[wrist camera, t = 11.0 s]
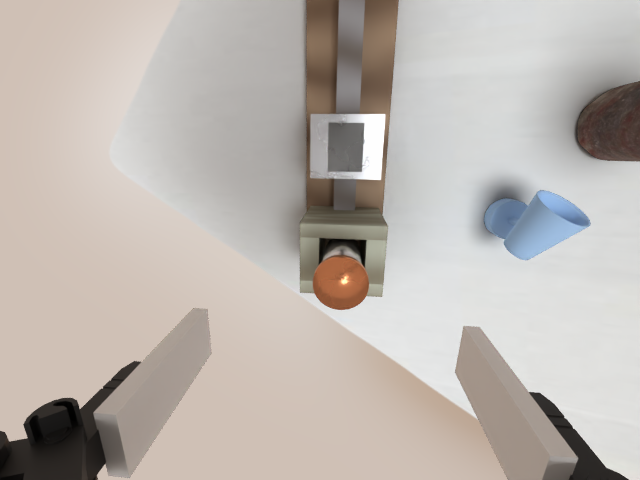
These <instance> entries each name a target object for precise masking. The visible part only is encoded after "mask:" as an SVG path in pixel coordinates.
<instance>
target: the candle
mask: <svg viewBox="0 0 640 480" xmlns="http://www.w3.org/2000/svg"><path fill="white" fill-rule="evenodd" d="M578 141H579V143H580V145H581V146H582V147H583V148H584V149H586V150H587V152H588V153H590V154H591V155H593V156H594V157H595V158H597V159H601V160H608V161H640V81H639V82H635V83H630V84H627V85H623V86H620V87H617V88H614V89H611V90H609V91H608V92H606V93H604V94H603V95H601V96H600V97H598V98H597V99H596V100H595V101H593V102H592V103H591V104H590V105H588V106H587V107H586V108H585V109H584V110H583V112H582V113H581V115H580V118H579V121H578Z"/></svg>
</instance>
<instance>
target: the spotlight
mask: <svg viewBox="0 0 640 480" xmlns="http://www.w3.org/2000/svg"><path fill="white" fill-rule="evenodd" d="M484 223H485V226H486V228H487V229H488V230H489V231H490V232H491V233H493V234H494V235H496V236H498V237H500V238H502V239H505V240H504V245H505V247H506V249H507V250H508V251H509V252H510V253H511V254H513V255H514V256H516V257H517V258H519V259H522V260H529V259H531V258H533V257H534V256H536V255H538V254H540V253H542V252H543V251H545V250H547V249H549V248H551V247H553V246H554V245H556V244H558V243H560V242H562V241H563V240H565V239H567V238H569V237H571V236H572V235H574V234H576V233H578V232H580V231H582V230H583V229H585V228H587V227H589V226H590V224H591V223H590V220H589V219H588V217H587V216H586V215H585V214H584V213H583V212H582V211H581V210H580V209H579V208H578V207H576V206H575V205H574V204H572V203H571V202H569V201H568V200H566V199H564V198H563V197H561V196H559V195H557V194H554V193H552V192H549V191H544V190H540V191H538V192H537V194H536V195H535V197H534V198H533V199H532V201H531V202H530V204H529V205H528V206H527V205H526V204H525V203H523V202H520V201H517V200H514V199H510V198H504V199H500V200H498V201H496V202H494V203H493V204H491V205H490V206H489V208H488V209H487V211H486V213H485V216H484Z"/></svg>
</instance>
